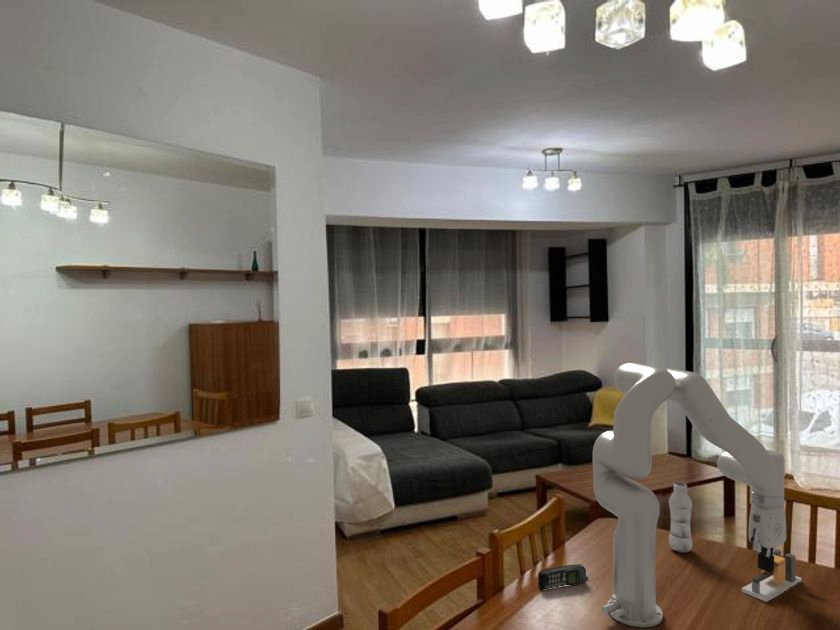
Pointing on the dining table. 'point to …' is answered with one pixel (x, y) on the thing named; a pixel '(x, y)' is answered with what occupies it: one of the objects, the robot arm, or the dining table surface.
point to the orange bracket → (778, 569)
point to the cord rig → (767, 587)
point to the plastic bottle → (680, 519)
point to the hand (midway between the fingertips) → (765, 569)
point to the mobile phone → (561, 576)
